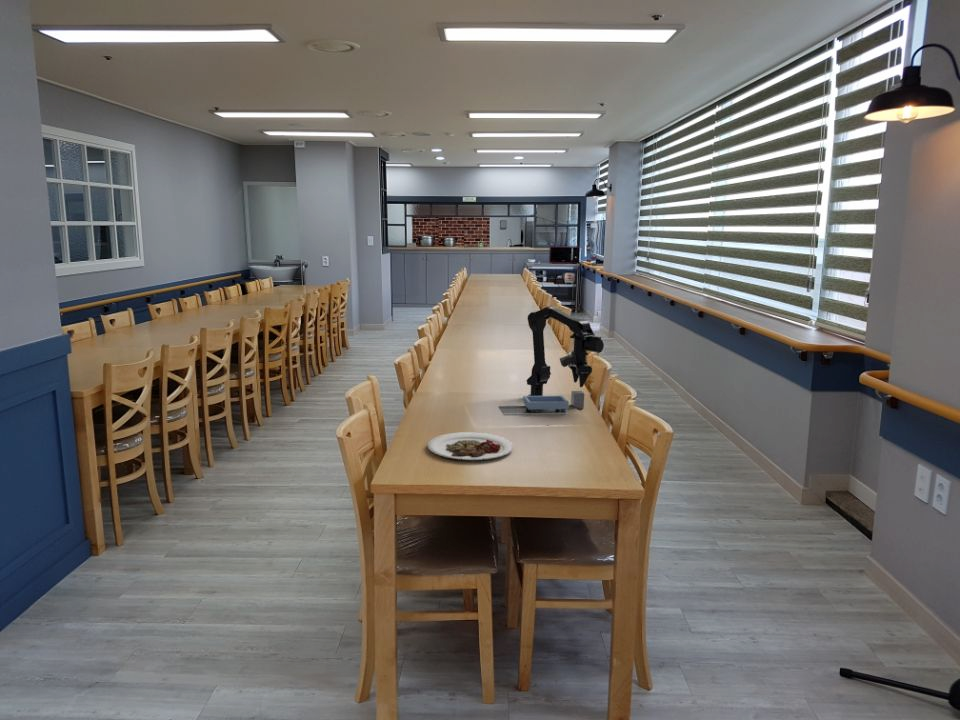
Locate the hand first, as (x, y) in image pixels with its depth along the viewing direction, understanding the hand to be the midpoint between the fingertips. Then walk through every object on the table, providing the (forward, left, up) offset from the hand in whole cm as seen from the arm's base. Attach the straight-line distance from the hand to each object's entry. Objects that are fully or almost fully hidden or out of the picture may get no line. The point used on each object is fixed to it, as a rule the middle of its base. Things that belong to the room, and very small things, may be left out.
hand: (578, 384), depth 300 cm
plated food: (+54, -54, -11) cm, 77 cm away
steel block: (0, 0, -10) cm, 10 cm away
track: (+7, -21, -10) cm, 25 cm away
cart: (+7, -16, -9) cm, 20 cm away
